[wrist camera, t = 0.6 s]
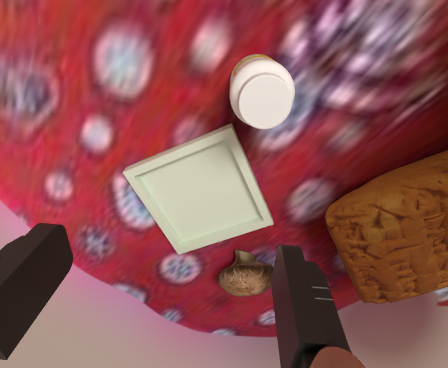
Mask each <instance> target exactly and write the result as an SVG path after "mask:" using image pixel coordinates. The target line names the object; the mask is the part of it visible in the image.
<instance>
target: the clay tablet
mask: <svg viewBox="0 0 448 368" xmlns="http://www.w3.org/2000/svg"><path fill="white" fill-rule="evenodd" d="M325 221H326V226H327V228H328V231H329V233H330V235H331V238H332V240H333V241H334V243H335V246H336V248H337V250H338V253H339V255H340V258H341V260H342V262H343V264H344V267H345V269H346V271H347V273H348V275H349V277H350V279H351V281H352V283H353V285H354V287H355V289H356V291H357V293H358V295H359V297H360V298H361V300H362V301H363V302H365V303H370V302H374V303H385V302H391V303H392V302H396V301H400V300H404V299H407V298H411V297H415V296H419V295H423V294H426V293H429V292H432V291H435V290H438V289H441V288H445V287H448V150H447V151H444V152H442V153H439V154H435V155H433V156H430V157H427V158H424V159H422V160H419V161H416V162H414V163H411V164H408V165H405V166H403V167H400V168H397V169H395V170H392V171H389V172H387V173H385V174H383V175H381V176H378V177H376V178H374V179H372V180H371V181H369V182H367V183H366V184H364V185H363V186H362V187H360V188H358V189H356V190H353V191H351V192H350V193H348V194H346V195H344V196H342V197H341V198H340V199H339V200H337V201H335V202H334V203H333V204H331V205H330V206H329V207H328V209H327V211H326V214H325Z"/></svg>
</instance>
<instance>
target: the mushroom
mask: <svg viewBox="0 0 448 368" xmlns="http://www.w3.org/2000/svg"><path fill="white" fill-rule="evenodd" d="M234 251H235V256H236V258H235V261H234V263H233V264H232V265H231V266H230V267H227V268H225V269H224V270H222V271H221V272H220V273H219V275H218V282H219V285H220V286H221V287H222V288H223V289H224V290H225V291H226V292H228V293H230V294H231V295H235V296H239V297H242V296H250V295H255V294H260V293H262V292H264V291H266V290H267V289H269V288H270V287H271V286H272V274H273V269H274V267H273V266H272V265H269V264H264V263H261V262H258V261H257V260H256V259H255V256H254V255H253V254H251V253H249V252H245V251H242V250H234Z"/></svg>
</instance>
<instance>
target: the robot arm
mask: <svg viewBox="0 0 448 368" xmlns="http://www.w3.org/2000/svg"><path fill="white" fill-rule="evenodd" d="M72 262H73V254H72V250H71V247H70V243H69V240H68V236H67V233H66V229H65V227H64V226H63V225H59V224H48V223H39V224H37V225H36V226H35V227H33V228H32V229H31V230H30V231H29V233H27V234H26V235H25V236H21V237H19V238H17V239H16V240H14V241H12V242H10V243H8V244H7V245H6V246H4V247H3V248H2V249H1V250H0V359H2V360H7V359H8V357H9V356H10V355H11V353H12V352H13V350H14V349H15V348H16V346H17V345H18V343H19V342H20V340H21V339H22V338H23V336H24V335H25V333H26V332H27V330H28V329H29V328H30V326H31V325H32V323H33V322H34V321H35V319H36V318H37V316H38V315H39V313H40V312H41V311H42V309H43V308H44V306H45V305H46V303H47V302H48V301H49V299H50V298H51V296H52V295H53V294H54V292H55V291H56V289H57V288H58V286H59V285H60V284H61V282H62V281H63V279H64V278H65V277H66V275H67V274H68V272H69V270H70V268H71V266H72ZM272 295H273V304H274V312H275V321H276V330H277V338H278V347H279V355H280V364H281V368H365V366H364V365H363V364H362V362H360V360H358V358H357V357H356V356H354V355H353V354H352V352H351V350H350V348H349V345H348V343H347V340H346V337H345V334H344V331H343V328H342V325H341V322H340V319H339V316H338V313H337V310H336V307H335V304H334V301H333V300H332V299H333V298H332V295H331V292H330V290H329V286H328V283H327V280H326V277H325V274H324V273H323V272H322V270H321V269H320V268H319V267H318V265H317V264H316V263H315V262H308V261H305V259H304V256H303V252H302V249H301V247H300V246H293V245H281V244H280V245H279V247H278V251H277V255H276V260H275V264H274V269H273V274H272Z"/></svg>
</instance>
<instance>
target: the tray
mask: <svg viewBox="0 0 448 368" xmlns="http://www.w3.org/2000/svg"><path fill="white" fill-rule="evenodd" d="M123 174H124V176H125V177H126V179H127V180H128V182H129V183H130V184H131V186H132V187H133V189H134V190H135V192H136V193H137V195H138V196H139V198H140V199H141V201H142V202H143V203H144V205H145V206H146V208H147V209H148V211H149V212H150V214H151V215H152V217H153V218H154V220H155V221H156V222H157V224H158V225H159V227H160V228H161V230H162V231H163V233H164V234H165V236H166V237H167V239H168V240H169V241H170V243H171V244H172V246H173V247H174V249H175V250H176V252H177V253H178V255H179V254H182V253H185V252H188V251H191V250H195V249H198V248H201V247H204V246H207V245H210V244H213V243H216V242H220V241H223V240H226V239H229V238H232V237H235V236H238V235H241V234H245V233H248V232H251V231H254V230H257V229H260V228H263V227H266V226H269V225H273V224H274V223H273V219H272V215H271V213H270V211H269V208H268V206H267V204H266V201H265V199H264V197H263V194H262V192H261V190H260V188H259V185H258V183H257V181H256V178H255V176H254V174H253V171H252V169H251V167H250V164H249V162H248V160H247V157H246V155H245V153H244V150H243V148H242V146H241V143H240V141H239V139H238V137H237V134H236V132H235V130H234V127H233V125H232V123H230V124H228V125H226V126H223V127H221V128H218V129H216V130H214V131H211V132H209V133H206V134H204V135H202V136H199V137H197V138H195V139H192V140H190V141H187V142H185V143H183V144H180V145H178V146H175V147H173V148H171V149H168V150H166V151H163V152H161V153H159V154H156V155H154V156H152V157H149V158H147V159H144V160H142V161H140V162H137V163H135V164H132V165H130V166H128V167H126V169H125V170H124V171H123Z"/></svg>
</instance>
